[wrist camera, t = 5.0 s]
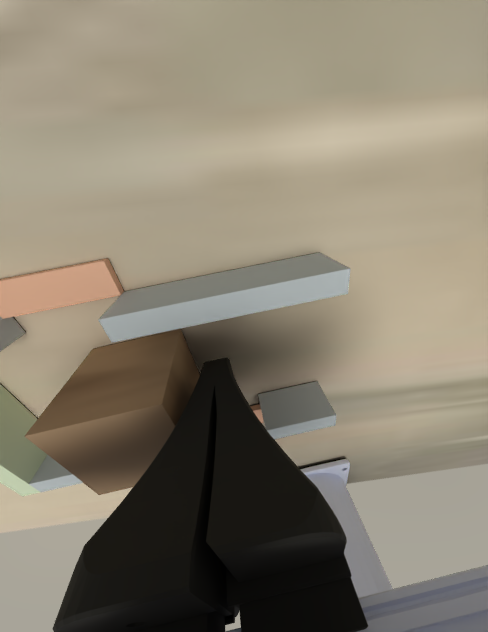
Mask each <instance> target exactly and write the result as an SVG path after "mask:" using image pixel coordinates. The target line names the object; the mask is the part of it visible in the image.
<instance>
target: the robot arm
mask: <svg viewBox="0 0 488 632" xmlns="http://www.w3.org/2000/svg"><path fill="white" fill-rule="evenodd" d="M349 468H350V463H349V461H348V460H347V459H342V460H338V461H334V462H329V463H325V464H321V465H316V466H312V467H308V468H304V469H299V468H298V467H297V466H296V464H295V463H294V462H293V461H292V460H291V459H290V458H289V457H288V455H287V454H286V453H285V452H284V451H283V450H282V448H281V447H280V446H279V445H278V444H277V442H276V441H275V440H274V439H273V438H272V436H271V435H270V434H269V433H268V431H267V430H266V429H265V427H264V426H263V425H262V423H261V422H260V420H259V419H258V418H257V416H256V415H255V413H254V412H253V410H252V409H251V407H250V405H249V404H248V402H247V401H246V399H245V397H244V395H243V394H242V392H241V390H240V388H239V386H238V384H237V382H236V380H235V378H234V375H233V372H232V368H231V364H230V360H229V359H228V358H222V359H217V360H213V361H208V362H205V363H204V365H203V368H202V371H201V374H200V377H199V379H198V381H197V384H196V386H195V388H194V391H193V393H192V395H191V397H190V399H189V402H188V404H187V405H186V407H185V409H184V411H183V413H182V415H181V417H180V419H179V421H178V422H177V424H176V426H175V428H174V429H173V431H172V433H171V434H170V436H169V438H168V439H167V441H166V442H165V444H164V445H163V447H162V448H161V450H160V451H159V453H158V454H157V456H156V457H155V459H154V460H153V462H152V463H151V464H150V466H149V467H148V469H147V470H146V471H145V473H144V474H143V475H142V477H141V478H140V479H139V480H138V482H137V483H136V484H135V486H134V487H133V488H132V490H131V491H130V492H129V493H128V495H127V496H126V497H125V499H124V500H123V501H122V502H121V504H120V505H119V506H118V507H117V508H116V510H115V511H114V512H113V513H112V514H111V515H110V517H109V518H108V519H107V520H106V521H105V522H104V524H103V525H102V526H101V527H100V528H99V529H98V531H97V532H96V533H95V534H94V535H93V536H92V538H91V539H90V540H89V541H88V542H87V543H86V544H85V546H84V548H83V550H82V553H81V555H80V557H79V560H78V562H77V564H76V567H75V569H74V572H73V575H72V577H71V580H70V583H69V586H68V588H67V591H66V593H65V596H64V599H63V602H62V604H61V607H60V610H59V613H58V616H57V618H56V621H55V624H54V627H53V630H54V632H225V625H227V624H231V623H235V617H236V616H237V615H238V613H239V610H240V620H241V628H238V629H234V630H230V631H226V632H488V565H486V566H482V567H478V568H474V569H470V570H466V571H462V572H458V573H454V574H450V575H447V576H443V577H439V578H435V579H431V580H427V581H423V582H419V583H415V584H411V585H407V586H403V587H400V588H395V589H393V588H392V586H391V584H390V582H389V579H388V577H387V575H386V573H385V571H384V568H383V566H382V564H381V562H380V560H379V557H378V555H377V553H376V551H375V549H374V547H373V544H372V542H371V540H370V538H369V536H368V534H367V532H366V529H365V527H364V525H363V523H362V521H361V518H360V516H359V514H358V512H357V510H356V508H355V505H354V503H353V501H352V499H351V497H350V494H349V492H348V490H347V488H346V484H347V479H348V473H349Z"/></svg>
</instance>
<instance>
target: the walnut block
mask: <svg viewBox="0 0 488 632" xmlns="http://www.w3.org/2000/svg"><path fill="white" fill-rule="evenodd" d="M199 377H200V374H199V372H198V369H197V367H196V365H195V362H194V360H193V357H192V355H191V353H190V350H189V348H188V345H187V343H186V341H185V338H184V336H183V333H182V331H181V329H177V330H173V331H168V332H164V333H160V334H155V335H151V336H147V337H142V338H138V339H134V340H129V341H125V342H121V343H116V344H112V345H108V346H103V347H99V348H95V349H93V350H92V351H91V352H90V353H89V355H88V356H87V357H86V358H85V360H84V361H83V362H82V364H81V365H80V366H79V367H78V369H77V370H76V371H75V372H74V374H73V375H72V376H71V378H70V379H69V380H68V381H67V383H66V384H65V385H64V386H63V388H62V389H61V390H60V392H59V393H58V394H57V395H56V397H55V398H54V399H53V400H52V402H51V403H50V404H49V405H48V407H47V408H46V409H45V411H44V412H43V413H42V414H41V416H40V417H39V418H38V419H37V421H36V422H35V423H34V425H33V426H32V427H31V428H30V430H29V431H28V432H27V433H26V435H25V436H24V437H26V438H27V439H28V440H30V441H31V442H32V443H33V444H35V445H36V446H37V447H38V448H40V449H41V450H42V451H44V452H45V453H46V454H47V455H49V456H50V457H51V458H52V459H54V460H55V461H56V462H58V463H59V464H60V465H61V466H63V467H64V468H65V469H66V470H68V471H69V472H70V473H72V474H73V475H74V476H75V477H77V478H78V479H79V480H81V481H82V482H83V483H84V484H86V485H87V486H88V487H89V488H91V489H92V490H93V491H95V492H96V493H97V494H98V495H101V494H105V493H110V492H114V491H118V490H122V489H126V488H130V487H134V486H135V484H136V483H137V482H138V480H139V479H140V478H141V477H142V475H143V474H144V473H145V471H146V470H147V469H148V467H149V466H150V464H151V463H152V462H153V460H154V459H155V457H156V456H157V454H158V453H159V451H160V450H161V448H162V447H163V445H164V444H165V442H166V441H167V439H168V438H169V436H170V434H171V433H172V431H173V429H174V428H175V426H176V424H177V422H178V421H179V419H180V417H181V415H182V413H183V411H184V409H185V407H186V405H187V404H188V402H189V399H190V397H191V395H192V393H193V391H194V388H195V386H196V384H197V381H198V379H199Z"/></svg>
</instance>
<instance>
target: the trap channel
mask: <svg viewBox="0 0 488 632" xmlns="http://www.w3.org/2000/svg"><path fill="white" fill-rule="evenodd" d="M349 278H350V268H349V267H347V266H345V265H343V264H341V263H339V262H337V261H335V260H333V259H331V258H329V257H328V256H326V255H324V254H322V253H320V252H319V253H314V254H309V255H304V256H299V257H294V258H289V259H284V260H279V261H274V262H269V263H264V264H259V265H254V266H249V267H244V268H239V269H234V270H229V271H224V272H219V273H214V274H209V275H204V276H199V277H194V278H189V279H184V280H179V281H174V282H169V283H164V284H159V285H154V286H149V287H144V288H139V289H134V290H129V291H124V290H123V288H122V286H121V284H120V282H119V280H118V278H117V276H116V274H115V272H114V270H113V268H112V266H111V264H110V261H109V259H108V258H107V259H102V260H97V261H92V262H87V263H81V264H76V265H71V266H66V267H61V268H56V269H51V270H46V271H40V272H35V273H30V274H25V275H20V276H15V277H10V278H4V279H0V351H2V350H3V349H5V348H6V347H7V346H9V345H10V344H11V343H13V342H14V341H15V340H17V339H18V338H20V337H21V336H22V335H24V334H25V333H26V332H25V331H24V330H23V329H22V328H21V326H20V325H19V324H18V323H17V322H16V320H15V319H14V318H13V317H15V316H20V315H25V314H29V313H34V312H39V311H44V310H49V309H54V308H59V307H64V306H69V305H74V304H79V303H84V302H89V301H94V300H99V299H104V298H109V297H114V296H119V295H121V296H120V297H119V298H118V299H117V300H116V301H115V302H114V303H113V304H112V305H111V306H110V307H109V309H108V310H107V311H106V312H105V313H104V314H103V315H102V316H101V317H100V318H99V319H98V320H99V322H100V324H101V325H102V327H103V329H104V330H105V332H106V334H107V335H108V337H109V339H110V340H111V342H112V343H113V342H118V341H122V340H127V339H132V338H137V337H142V336H146V335H151V334H156V333H161V332H166V331H171V330H175V329H180V328H185V327H190V326H195V325H200V324H204V323H209V322H214V321H219V320H224V319H228V318H233V317H238V316H243V315H248V314H253V313H257V312H262V311H267V310H272V309H277V308H282V307H286V306H291V305H296V304H301V303H306V302H310V301H315V300H320V299H325V298H330V297H335V296H339V295H344V294H348V288H349ZM258 396H259V402H260V404H258V405H253V406H250V407H251V409H252V410H253V412H254V413H255V415H256V416H257V418H258V419H259V420H260V422H261V423H264V424H265V428H266V430H267V431H268V433H269V434H270V435H271V436H272V438H273V439H278V438H282V437H287V436H291V435H295V434H300V433H304V432H309V431H313V430H317V429H322V428H326V427H331V426H335V424H336V413H335V412H334V410H333V408H332V406H331V405H330V403H329V401H328V399H327V397H326V396H325V394H324V392H323V390H322V389H321V387H320V385H319V383H318V382H317V381H316V382H311V383H307V384H302V385H298V386H293V387H288V388H284V389H279V390H275V391H270V392H266V393H261V394H258ZM262 415H263V416H262ZM263 420H264V422H263ZM36 421H37V418H36V417H35V416H34V415H33V414H32V413H31V412H30V411H29V410H27V409H26V408H25V407H24V406H23V405H22V404H21V403H20V402H19V401H18V400H17V399H16V398H15V397H13V396H12V395H11V394H10V393H9V392H8V391H7V390H6V389H5V388H4V387H3V386H2V385H1V384H0V483H2V484H3V485H5V486H6V487H8V488H10V489H11V490H13V491H15V492H16V493H18V494H19V495H21V496H27V495H31V494H36V493H40V492H44V491H49V490H53V489H58V488H62V487H66V486H71V485H75V484H80V483H83V482H82V481H81V480H79V479H78V478H77V477H75V476H74V475H73V474H72V473H70V472H69V471H68V470H66V469H65V468H64V467H63V466H61V465H60V464H59V463H58V462H56V461H55V460H54V459H52V458H51V457H50V456H49V455H47V454H46V453H45V452H44V451H42V450H41V449H40V448H38V447H37V446H36V445H35V444H33V443H32V442H31V441H30V440H28V439H27V438H26V437H24V436H25V435H26V433H27V432H28V431H29V430H30V428H31V427H32V426H33V425H34V423H35V422H36Z"/></svg>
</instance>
